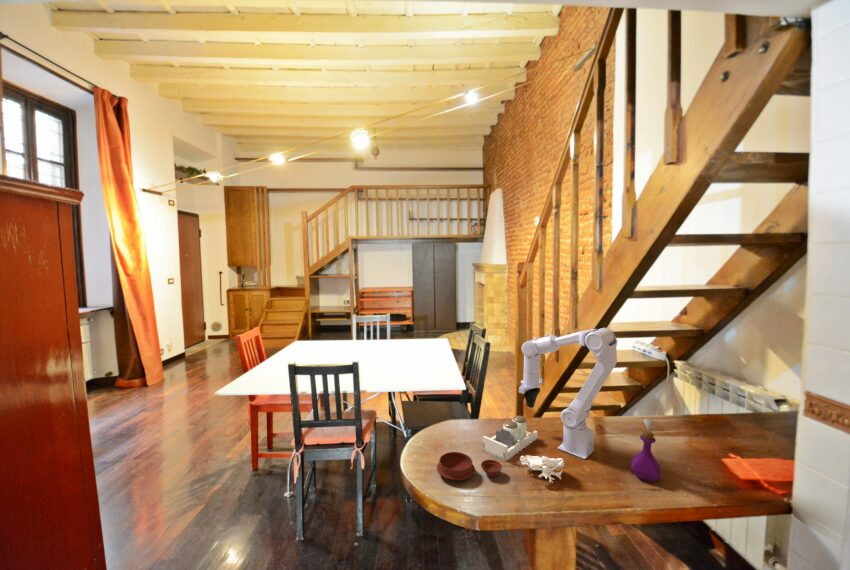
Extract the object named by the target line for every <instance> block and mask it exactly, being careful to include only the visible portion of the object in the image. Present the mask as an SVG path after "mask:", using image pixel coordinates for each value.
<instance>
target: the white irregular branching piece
mask: <svg viewBox="0 0 850 570" xmlns="http://www.w3.org/2000/svg"><path fill="white" fill-rule="evenodd" d="M519 460H520V462H521V465H523V466H525V465H527V467H528V469H531V470H533V471H541V473H540V474H538V475H537V477H538V478H542V477H545V479H549V480H548V482H549V483H551V484H553V483H554V480H555V478H554V477H552V476H556V478H558V479H559V480H562V473H563V470H560V471H558V472H556V471H555V470H556V469H557V468H559V469H560V468H563V467H565V460H564V459H563V458H562V457H557V458H554V457H552V458H550V457H548V456H544V455H542V456H538V455H536V456H535V455H534V456H532V455H528V454H527V455H525V456H524V455H521V456H520V457H519ZM551 475H552V476H551Z"/></svg>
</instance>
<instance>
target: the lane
mask: <svg viewBox="0 0 850 570" xmlns="http://www.w3.org/2000/svg"><path fill="white" fill-rule="evenodd" d="M536 440H538V431H537V430H533V431H532V432H530V431H527V430H526V437H525V438H523V439H522V440H518V443H516V444H515V445H513V446H512V447H510V448H509V449H508V446H507V445H505V444H502V443H500V442H498V441H496V434H495V435H493V436H492V437H488V436H487V435H483V436H482V452H484V451H485V452H484V453H487V454H489V455H490V456H493V457H495V458H497V459H500V460H501V461H503V462H507V461H509V460H510V459H512V458H513V457H514V456H515V454H516V455H517V454H518V453H520V452H521V451H523V448H524V449H526V446H527V447H528V446H529V445H531V444H533V441H534V442H535V441H536ZM530 443H531V444H530ZM519 451H520V452H519Z"/></svg>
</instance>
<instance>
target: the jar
mask: <svg viewBox="0 0 850 570" xmlns="http://www.w3.org/2000/svg"><path fill="white" fill-rule="evenodd" d="M511 421H514V422H516V423H517V425H518V440H522V439H523V438H525V437H526V431H527V422H528V421H527V418H526V417H525V416H523V415H514V416H513V417H512V419H511Z"/></svg>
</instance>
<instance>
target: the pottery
mask: <svg viewBox="0 0 850 570" xmlns="http://www.w3.org/2000/svg"><path fill="white" fill-rule="evenodd" d="M480 466H481V469H482V470H483V472H484V473H485V475H486V476H487V477H488V478H495V477H496V476H497V475H499V473H500V472H501V471H502V468H503V465H502V464H501V462H500V461H497V460H494V459H485V460H483V461H481V462H480ZM436 470H437V472H438V474H439V475H440V476H442V477H444V478H445V479H448V480H453V481H463V480H466V479H469V478H471V477H472V476H473V475H474V474H475V471H476V467H475V465H474V464H473V459H472V458H471V457H470V456H469V455H467V454H466V453H463V452H459V451H451V452H445V453H444V454H442V455H440V457H439V461H438V463H437V464H436Z"/></svg>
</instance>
